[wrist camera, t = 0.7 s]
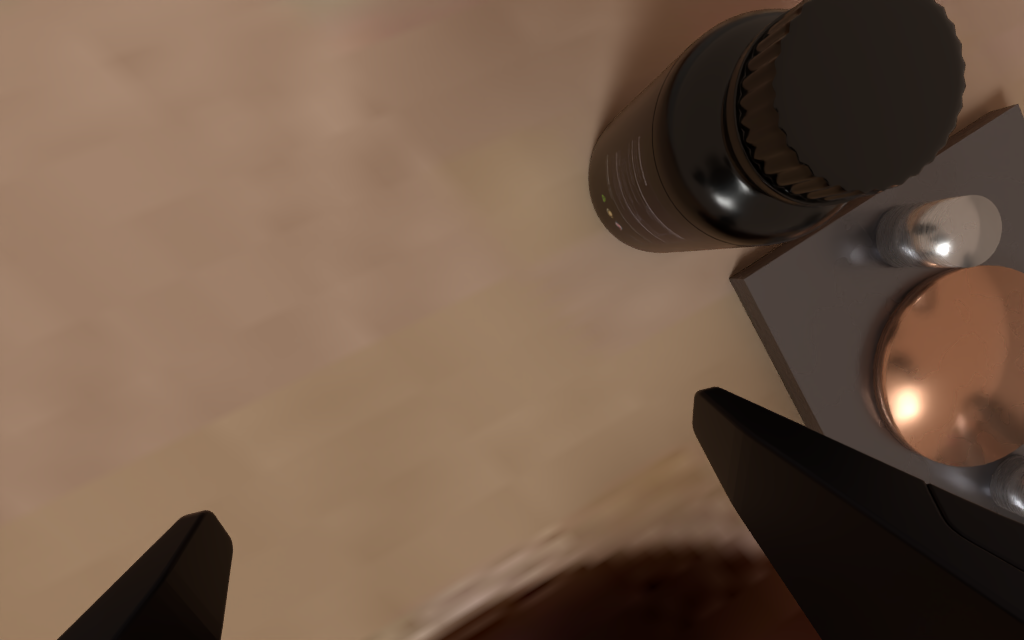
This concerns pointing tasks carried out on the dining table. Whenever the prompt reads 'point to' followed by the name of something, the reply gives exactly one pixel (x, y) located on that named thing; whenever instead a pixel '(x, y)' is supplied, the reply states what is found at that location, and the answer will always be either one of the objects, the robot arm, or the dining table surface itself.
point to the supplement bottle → (779, 124)
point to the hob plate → (914, 319)
